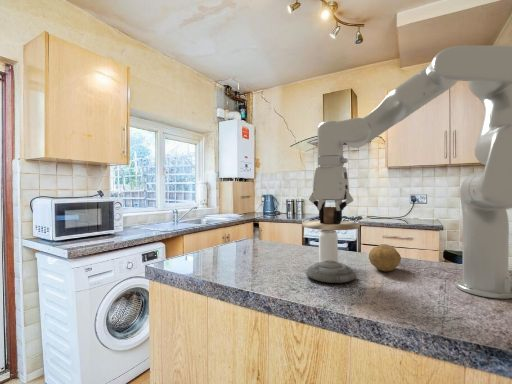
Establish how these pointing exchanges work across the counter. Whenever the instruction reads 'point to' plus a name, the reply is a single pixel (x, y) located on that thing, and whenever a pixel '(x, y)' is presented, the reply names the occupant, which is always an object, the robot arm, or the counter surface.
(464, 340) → the counter surface
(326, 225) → the lid
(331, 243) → the can
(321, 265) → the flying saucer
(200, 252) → the counter surface
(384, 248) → the potato
